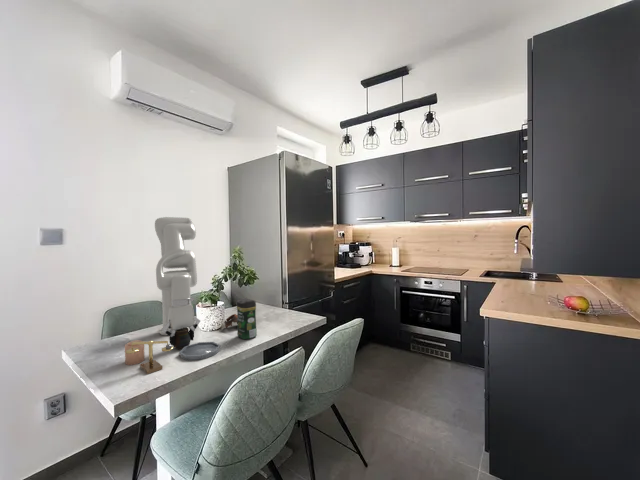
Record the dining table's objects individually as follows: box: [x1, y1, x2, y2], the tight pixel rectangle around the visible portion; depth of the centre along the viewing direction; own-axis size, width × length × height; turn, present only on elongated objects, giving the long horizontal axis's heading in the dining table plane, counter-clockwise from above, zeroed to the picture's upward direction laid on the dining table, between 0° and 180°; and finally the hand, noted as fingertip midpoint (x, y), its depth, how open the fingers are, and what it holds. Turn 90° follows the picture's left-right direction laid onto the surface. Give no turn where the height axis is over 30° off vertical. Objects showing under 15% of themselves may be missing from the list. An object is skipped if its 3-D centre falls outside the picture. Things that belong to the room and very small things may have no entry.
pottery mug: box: [223, 313, 238, 329], centre depth 151 cm, size 12×10×8 cm
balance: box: [126, 340, 174, 375], centre depth 103 cm, size 8×16×11 cm, turn 138°
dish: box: [178, 341, 221, 361], centre depth 117 cm, size 15×15×2 cm
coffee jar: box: [236, 297, 258, 340], centre depth 135 cm, size 10×8×19 cm
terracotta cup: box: [124, 339, 146, 366], centre depth 110 cm, size 6×6×8 cm
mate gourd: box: [173, 327, 192, 350], centre depth 123 cm, size 7×8×10 cm
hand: (182, 342), depth 123 cm, fingers closed on mate gourd, 7 cm apart
